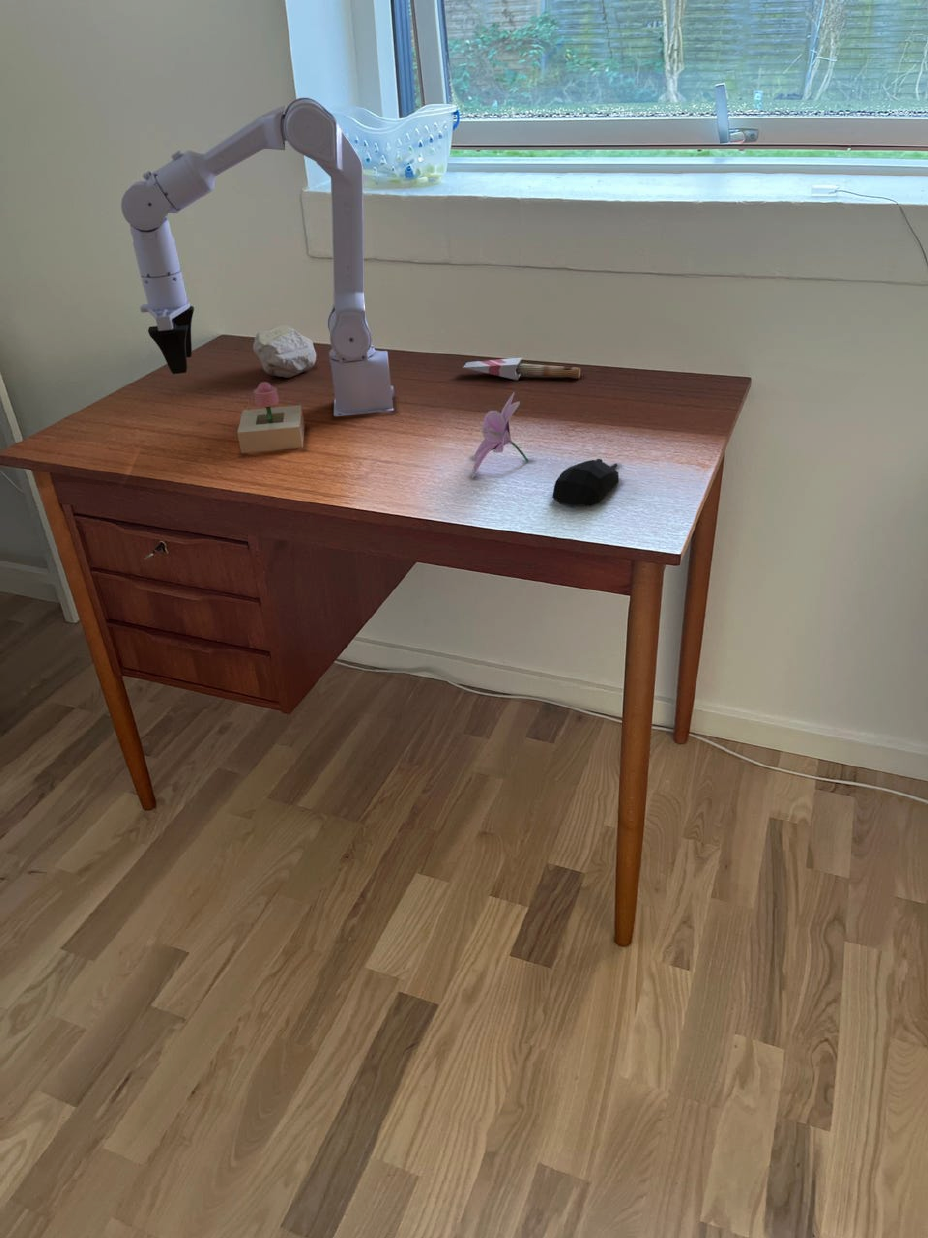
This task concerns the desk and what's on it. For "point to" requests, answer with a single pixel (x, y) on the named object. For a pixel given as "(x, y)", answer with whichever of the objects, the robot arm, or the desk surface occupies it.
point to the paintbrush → (521, 369)
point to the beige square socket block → (271, 429)
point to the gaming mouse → (585, 483)
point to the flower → (266, 398)
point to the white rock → (284, 351)
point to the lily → (496, 433)
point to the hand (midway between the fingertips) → (182, 364)
